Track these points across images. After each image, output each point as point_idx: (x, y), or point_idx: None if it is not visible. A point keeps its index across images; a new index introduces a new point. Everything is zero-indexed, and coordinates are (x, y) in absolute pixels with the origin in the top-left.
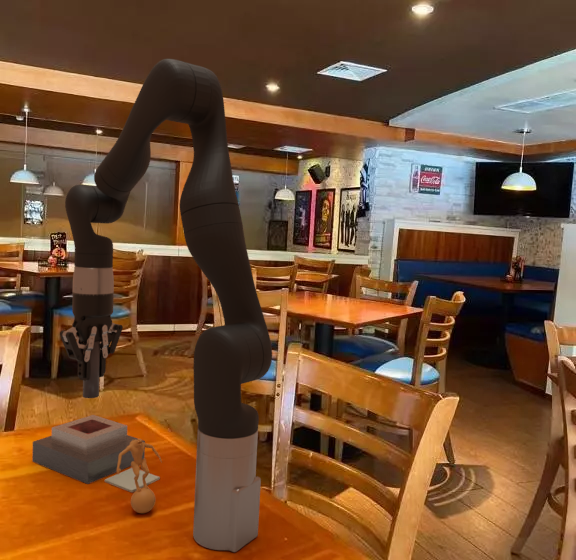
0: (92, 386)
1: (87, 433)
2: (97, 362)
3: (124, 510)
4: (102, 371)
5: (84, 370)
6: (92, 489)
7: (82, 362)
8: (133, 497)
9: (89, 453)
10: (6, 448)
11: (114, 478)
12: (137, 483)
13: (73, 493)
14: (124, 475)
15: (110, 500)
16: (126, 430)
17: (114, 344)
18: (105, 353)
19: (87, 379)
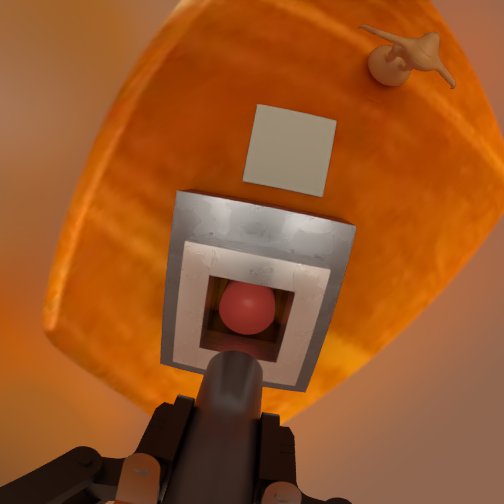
0: (249, 385)
1: (231, 327)
2: (212, 457)
3: (392, 101)
4: (182, 411)
5: (282, 452)
6: (357, 198)
7: (297, 487)
8: (408, 74)
9: (313, 257)
10: None
11: (308, 182)
12: (404, 66)
13: (384, 219)
14: (286, 172)
15: (377, 141)
16: (191, 238)
17: (57, 477)
18: (139, 474)
19: (274, 414)
